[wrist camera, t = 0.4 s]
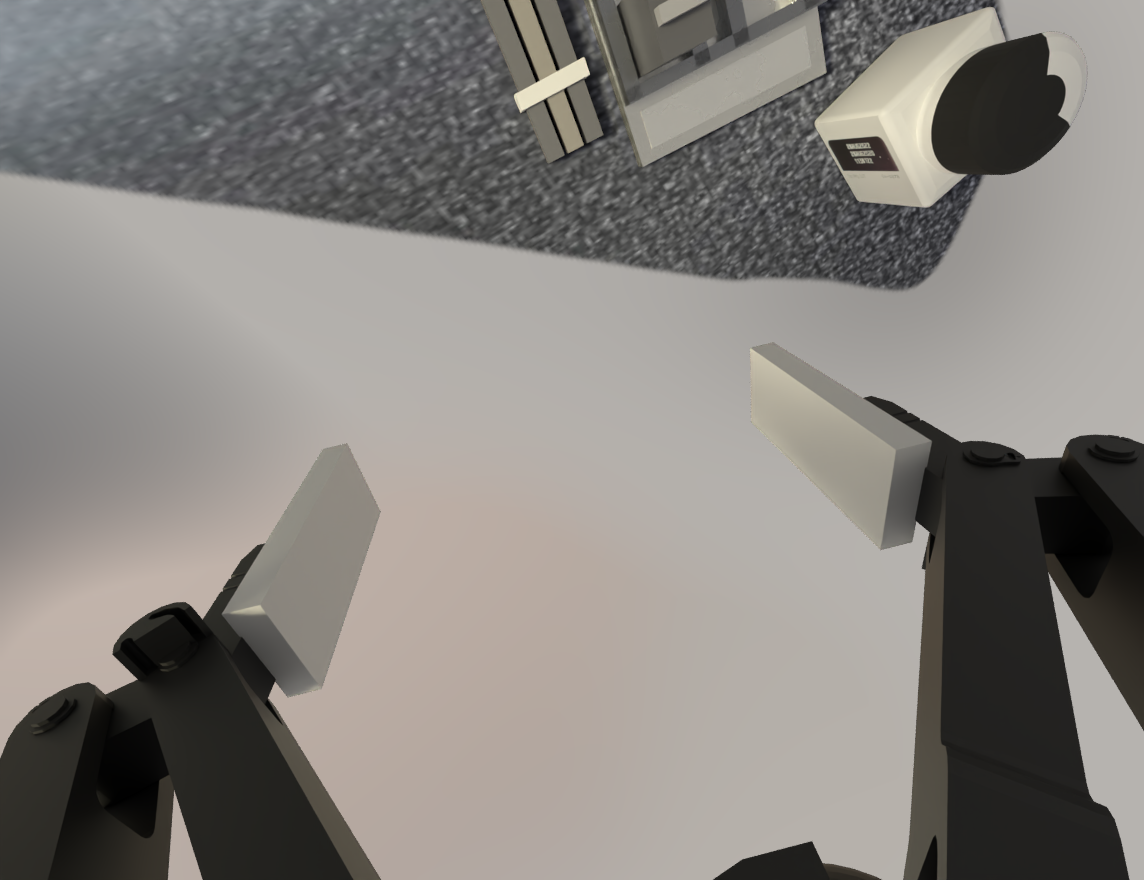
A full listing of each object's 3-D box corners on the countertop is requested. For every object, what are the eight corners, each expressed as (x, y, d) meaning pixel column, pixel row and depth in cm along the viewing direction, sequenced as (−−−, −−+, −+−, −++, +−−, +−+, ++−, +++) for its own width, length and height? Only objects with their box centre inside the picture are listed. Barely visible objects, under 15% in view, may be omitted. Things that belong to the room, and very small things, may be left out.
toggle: (615, 7, 31) (644, -30, 25) (662, -19, 31) (702, -63, 25) (637, 79, 33) (668, 59, 27) (681, 55, 33) (722, 31, 27)
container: (856, 203, 40) (997, 217, 29) (810, 122, 37) (948, 102, 26) (941, 125, 38) (1127, 108, 27) (900, 32, 35) (1093, -31, 24)
